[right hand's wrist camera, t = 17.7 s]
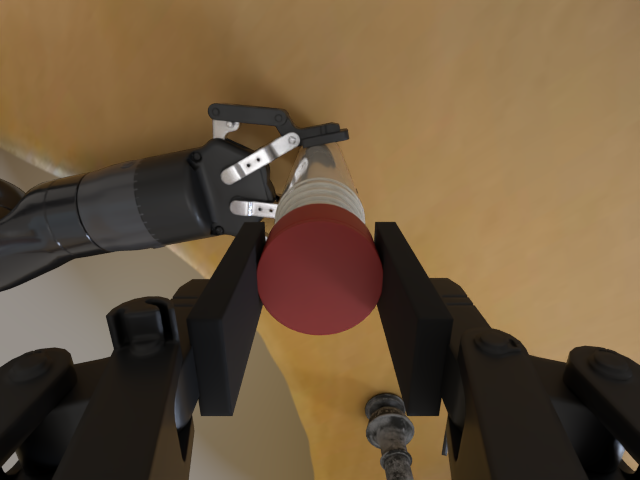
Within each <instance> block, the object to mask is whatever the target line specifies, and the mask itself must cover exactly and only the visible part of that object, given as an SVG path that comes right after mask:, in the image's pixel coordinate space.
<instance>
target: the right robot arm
mask: <svg viewBox="0 0 640 480" xmlns="http://www.w3.org/2000/svg"><path fill="white" fill-rule="evenodd" d="M265 243H266V241H265V223H264V222H244V224H243V225H242V227H241V229H240V230H239V232H238V234H237V235H236V237H235V239H234V240H233V242H232V244H231V245H230V247H229V249H228V250H227V252H226V254H225V255H224V257H223V259H222V260H221V262H220V264H219V265H218V267H217V269H216V270H215V272H214V273H213V275H212V277H211V278H210V279H192V280H191V281H189V282H187V283H186V284H184V285H183V286H181V287H180V288H179V289H178V291H177V292H176V293H175V295H174V296H173V299H171V300H169V299H167V298H163V297H159V296H158V297H157V296H155V297H142V298H137V299H133V300H130V301H128V302H125V303H122V304H120V305H119V306H117V307H115V308H114V309H112V310H111V311H110V312H109V313H108V314H107V315H106V318H107V323H108V327H109V331H110V335H111V339H112V343H113V347H114V350H113V353H112V355H111V357H107V358H103V359H99V360H94V361H89V362H84V363H79V364H73V361H72V357H71V354H70V353H69V352H68V351H67V350H65V349H61V348H45V349H38V350H35V351H31V352H27V353H25V354H23V355H21V356H19V357H17V358H14V359H12V360H11V361H9V362H8V363H6V364H4V365H3V366H1V367H0V480H189V471H190V463H191V455H192V446H193V438H194V424H193V418H192V413H193V411H194V408H195V405H196V403H197V401H198V400H199V406H200V413H201V416H233V412H234V408H235V405H236V401H237V397H238V394H239V390H240V386H241V383H242V379H243V376H244V372H245V368H246V364H247V361H248V357H249V354H250V350H251V346H252V342H253V339H254V335H255V332H256V328H257V324H258V321H259V317H260V313H261V310H262V306H263V303H262V301H261V299H260V296H259V293H258V286H257V266H258V262H259V259H260V257H261V254H262V251H263V249H264V246H265ZM374 244H375V246H376V249H377V252H378V254H379V257H380V260H381V263H382V267H383V282H382V293H381V296H380V298H379V301H378V303H377V307H378V311H379V314H380V318H381V322H382V325H383V329H384V333H385V336H386V340H387V344H388V347H389V351H390V354H391V358H392V362H393V365H394V369H395V373H396V376H397V380H398V384H399V387H400V391H401V395H402V398H403V402H404V406H405V409H406V413H407V416H439V411H440V405H441V398H442V399H443V402H444V404H445V407H446V409H447V412H448V418H447V424H446V430H445V436H444V442H443V449H442V455H446V456H447V451H448V454H449V462H450V471H451V479H452V480H640V365H639V364H637V363H636V362H634V361H633V360H631V359H629V358H628V357H625V356H623V355H621V354H619V353H617V352H615V351H612V350H609V349H605V348H601V347H593V346H581V347H575V348H574V349H573V350H572V351H570V353H569V356H568V360H567V363H565V362H560V361H555V360H550V359H545V358H540V357H535V356H532V355H529V354H528V352H527V350H526V348H525V347H524V346H523V344H522V343H521V342H520V341H519V340H517V339H516V338H514V337H513V336H512V335H510V334H507V333H505V332H503V331H500V330H497V329H492V328H491V327H490V326H489V324H488V323H487V322H486V320H485V319H484V318H483V316H482V315H481V313H480V312H479V311H478V309H477V308H476V307H475V305H473V303H472V301H471V300H470V299H469V297H467V295H466V293H465V292H464V291H463V289H462V288H461V287H460V286H459V285H458V284H456V283H454V282H453V281H451V280H450V279H448V278H429V277H428V276H427V274H426V272H425V271H424V269H423V267H422V266H421V264H420V262H419V261H418V259H417V257H416V256H415V254H414V252H413V251H412V249H411V247H410V246H409V244H408V242H407V241H406V239H405V237H404V236H403V234H402V232H401V231H400V229H399V227H398V226H397V224H396V222H375V236H374ZM625 450H626V451H627V452H628V453H629V454H630V455H631V456H632V457H633V459H634V460H635V461H636V462H637V463H638V464H639V466H638V468H637V470H636V471H633V470H632V469H631V468H630V467H629V466H628V465H627V464H626V463H625V462H624V461H623V460H622V456H623V453H624V451H625ZM14 452H16V454H17V456H18V459H19V460H18V461H17V463H16V464H15V465H14V466H13V467H12V468H11V469H10V470H9V471H7V472H6V473H5V472H4V471H3V469H2V466H3V464H4V463H5V462H6V461H7V460H8V459H9V458H10V457H11V455H12V454H13V453H14Z"/></svg>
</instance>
